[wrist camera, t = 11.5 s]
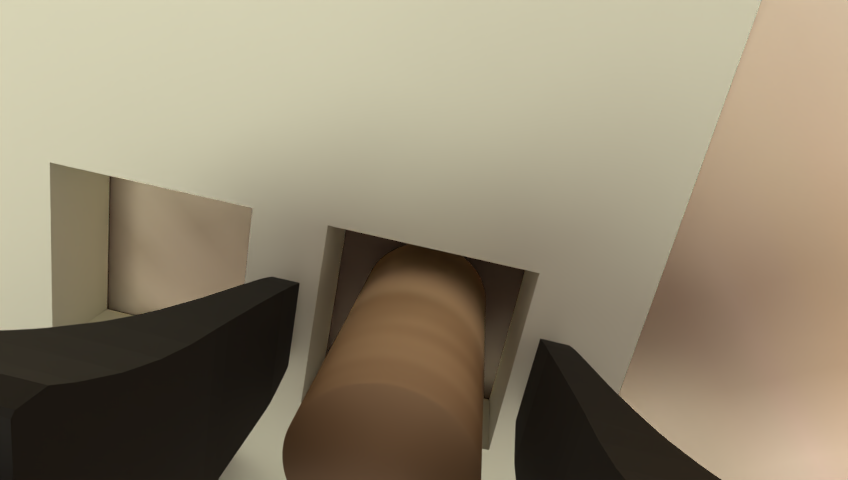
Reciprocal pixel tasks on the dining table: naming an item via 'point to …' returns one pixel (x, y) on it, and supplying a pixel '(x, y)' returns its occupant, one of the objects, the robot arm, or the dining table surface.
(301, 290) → the pin board
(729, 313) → the dining table surface
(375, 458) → the pin
